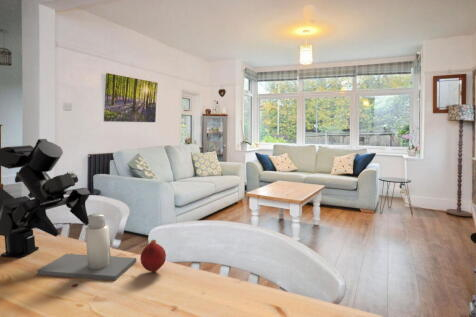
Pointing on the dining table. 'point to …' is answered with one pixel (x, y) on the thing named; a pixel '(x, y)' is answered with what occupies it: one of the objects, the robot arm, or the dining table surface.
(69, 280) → the dining table surface
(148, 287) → the dining table surface
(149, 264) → the onion
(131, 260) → the slate board
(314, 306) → the dining table surface
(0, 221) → the robot arm
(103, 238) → the white bottle
